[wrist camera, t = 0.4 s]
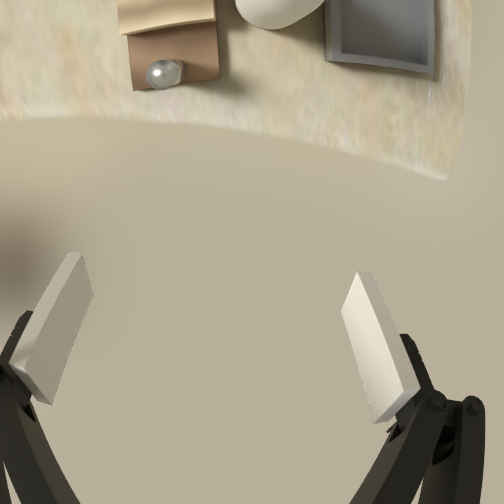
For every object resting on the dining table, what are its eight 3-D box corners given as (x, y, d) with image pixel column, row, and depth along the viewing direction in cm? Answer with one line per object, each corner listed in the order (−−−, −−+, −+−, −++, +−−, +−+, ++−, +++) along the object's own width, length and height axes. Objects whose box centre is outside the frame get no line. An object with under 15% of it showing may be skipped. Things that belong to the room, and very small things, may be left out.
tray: (320, -37, 23) (327, -44, 20) (419, -17, 23) (432, -20, 21) (324, 60, 31) (332, 61, 28) (420, 72, 31) (433, 75, 28)
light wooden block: (124, -10, 23) (116, -13, 21) (213, -26, 23) (211, -31, 21) (127, 35, 27) (119, 34, 25) (215, 20, 27) (214, 18, 25)
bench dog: (159, 61, 29) (144, 62, 24) (186, 57, 29) (175, 57, 24) (162, 85, 31) (147, 92, 26) (188, 82, 31) (178, 87, 26)
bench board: (127, -12, 24) (124, -13, 23) (213, -27, 24) (212, -30, 23) (136, 89, 32) (133, 90, 31) (220, 78, 32) (219, 79, 31)
